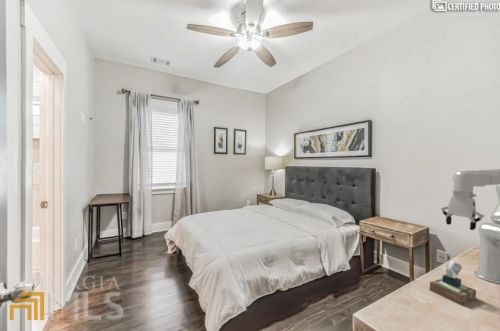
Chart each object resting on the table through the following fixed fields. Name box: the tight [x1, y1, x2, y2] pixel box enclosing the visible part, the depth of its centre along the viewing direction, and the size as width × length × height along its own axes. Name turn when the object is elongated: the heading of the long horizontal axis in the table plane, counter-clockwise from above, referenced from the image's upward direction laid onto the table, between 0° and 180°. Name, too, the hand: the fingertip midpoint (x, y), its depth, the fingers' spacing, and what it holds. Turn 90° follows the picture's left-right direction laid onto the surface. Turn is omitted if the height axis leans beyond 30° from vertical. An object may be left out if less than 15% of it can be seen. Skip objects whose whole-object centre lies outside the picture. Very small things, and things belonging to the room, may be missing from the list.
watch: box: [441, 260, 463, 288], centre depth 107 cm, size 6×8×11 cm
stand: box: [429, 277, 477, 306], centre depth 106 cm, size 14×12×4 cm
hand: (460, 226), depth 117 cm, fingers open, 9 cm apart
